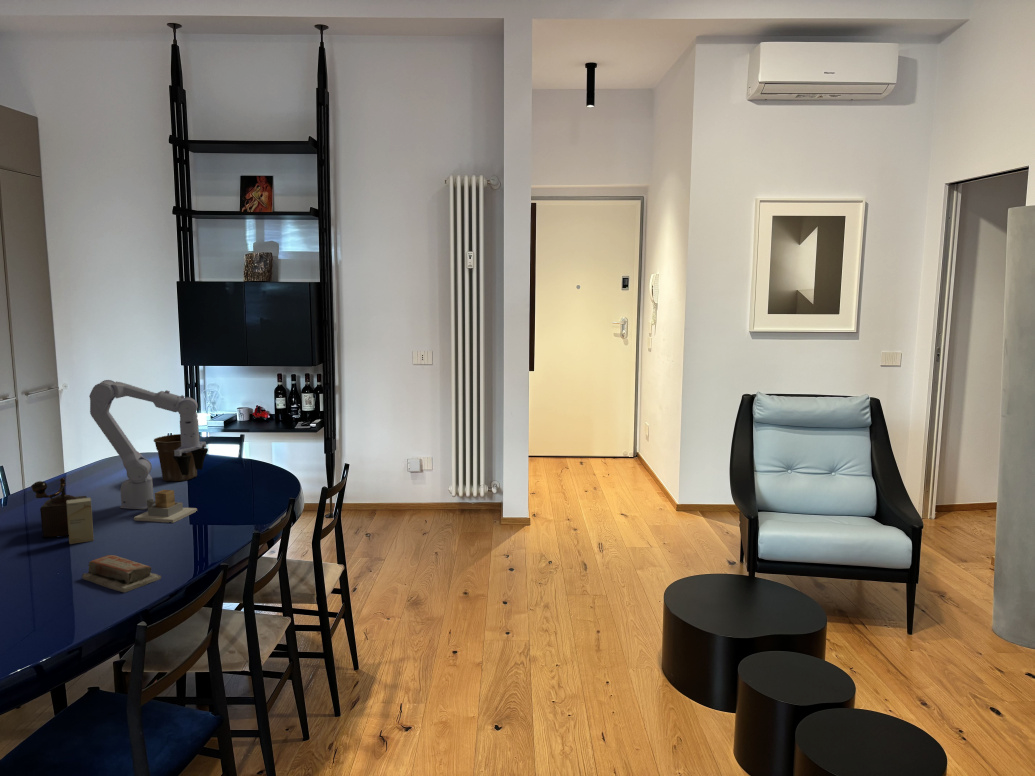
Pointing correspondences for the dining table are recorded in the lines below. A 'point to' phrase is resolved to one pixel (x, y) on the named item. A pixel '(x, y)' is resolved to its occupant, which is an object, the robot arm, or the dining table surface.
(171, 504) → the wooden block
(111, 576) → the packaged product
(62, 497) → the manual coffee grinder
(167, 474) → the plant pot
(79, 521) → the skincare box
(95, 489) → the dining table surface
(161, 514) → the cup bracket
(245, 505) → the dining table surface
